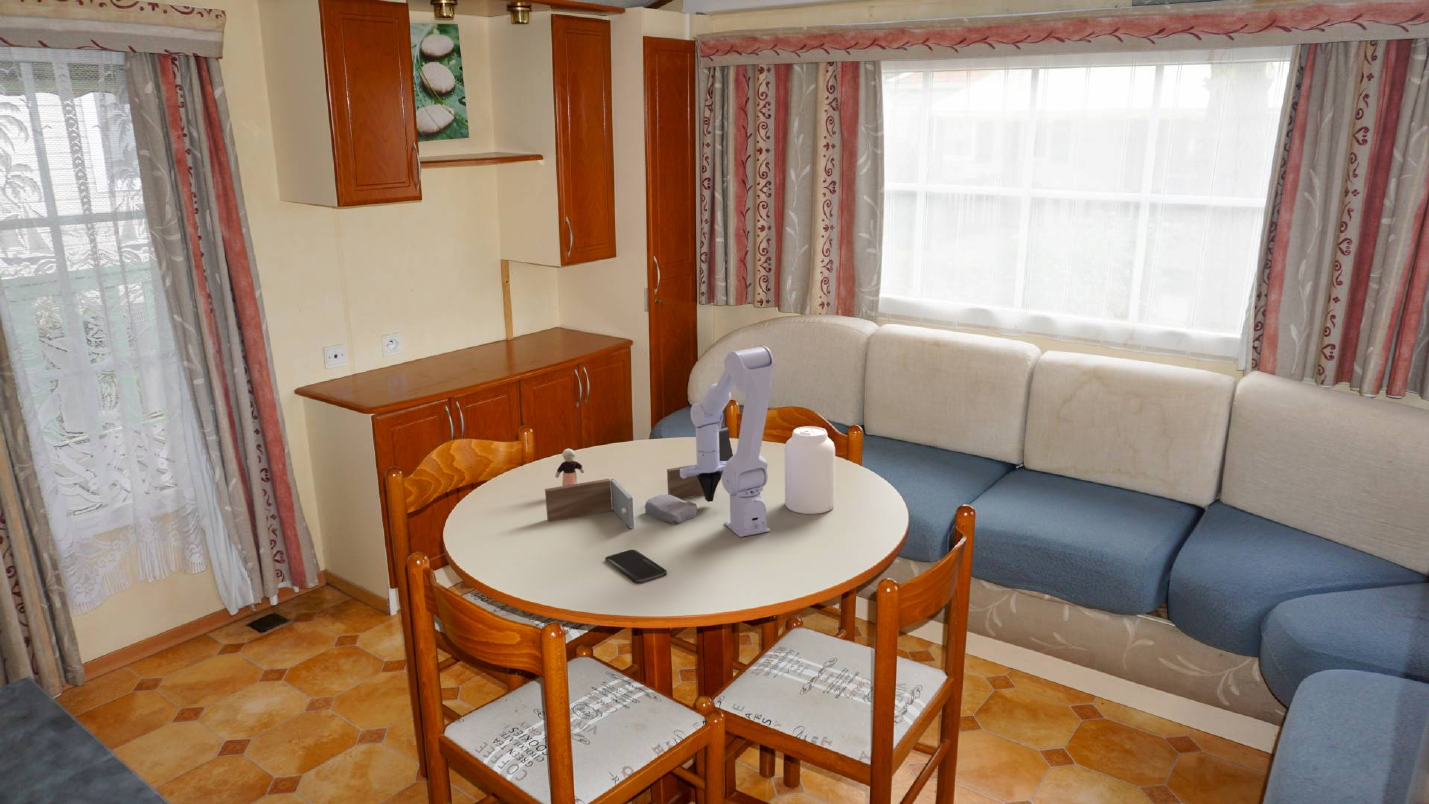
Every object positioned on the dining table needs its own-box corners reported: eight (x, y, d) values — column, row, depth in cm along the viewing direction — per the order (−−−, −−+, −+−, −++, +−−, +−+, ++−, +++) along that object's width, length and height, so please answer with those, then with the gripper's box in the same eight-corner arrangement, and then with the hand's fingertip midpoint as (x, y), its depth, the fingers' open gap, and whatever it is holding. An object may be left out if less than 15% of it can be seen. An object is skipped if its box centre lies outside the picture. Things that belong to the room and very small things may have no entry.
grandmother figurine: (561, 499, 256) (558, 453, 252) (555, 495, 259) (551, 449, 256) (588, 493, 260) (585, 447, 256) (581, 489, 263) (578, 443, 260)
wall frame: (713, 492, 258) (713, 463, 256) (548, 521, 242) (546, 490, 240) (711, 490, 259) (710, 462, 257) (547, 519, 243) (544, 489, 241)
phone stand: (736, 471, 273) (735, 430, 270) (719, 476, 270) (718, 434, 266) (717, 463, 280) (716, 423, 277) (700, 468, 277) (699, 427, 274)
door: (606, 508, 248) (605, 480, 246) (615, 506, 249) (613, 478, 247) (624, 529, 235) (623, 499, 233) (633, 527, 236) (632, 497, 234)
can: (809, 519, 239) (809, 441, 234) (774, 505, 248) (773, 429, 243) (845, 506, 247) (846, 430, 241) (809, 493, 256) (809, 419, 251)
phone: (637, 581, 207) (603, 557, 219) (637, 586, 207) (603, 562, 219) (669, 571, 211) (634, 548, 223) (669, 576, 212) (634, 553, 224)
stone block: (670, 510, 252) (640, 514, 245) (672, 492, 251) (643, 495, 244) (702, 524, 244) (672, 528, 237) (704, 505, 243) (675, 508, 236)
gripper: (728, 440, 251) (729, 490, 255) (674, 448, 246) (676, 499, 249) (739, 448, 245) (740, 499, 248) (684, 456, 239) (686, 509, 243)
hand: (709, 500), depth 248 cm, fingers closed
